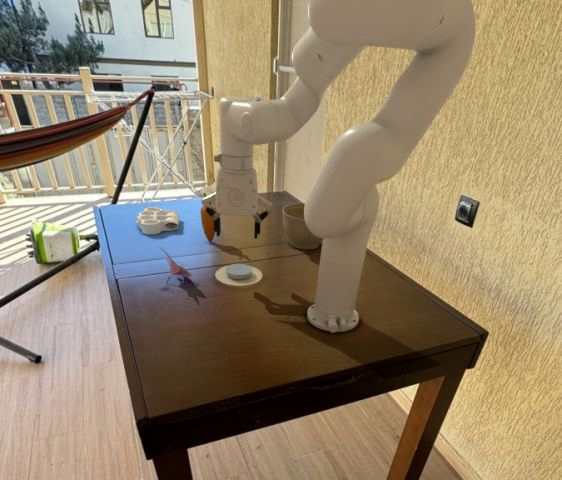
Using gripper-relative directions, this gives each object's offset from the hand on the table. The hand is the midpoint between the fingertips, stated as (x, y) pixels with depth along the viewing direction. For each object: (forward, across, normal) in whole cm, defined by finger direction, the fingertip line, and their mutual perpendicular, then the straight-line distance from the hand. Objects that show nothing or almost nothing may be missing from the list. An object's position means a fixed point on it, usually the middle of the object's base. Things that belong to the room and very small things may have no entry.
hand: (237, 235), depth 101 cm
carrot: (+12, -11, +25) cm, 30 cm away
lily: (+12, -15, -6) cm, 20 cm away
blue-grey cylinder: (+11, 0, 0) cm, 11 cm away
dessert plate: (+12, 0, 0) cm, 12 cm away
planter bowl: (+12, +20, +27) cm, 36 cm away
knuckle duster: (+13, -31, +38) cm, 50 cm away
